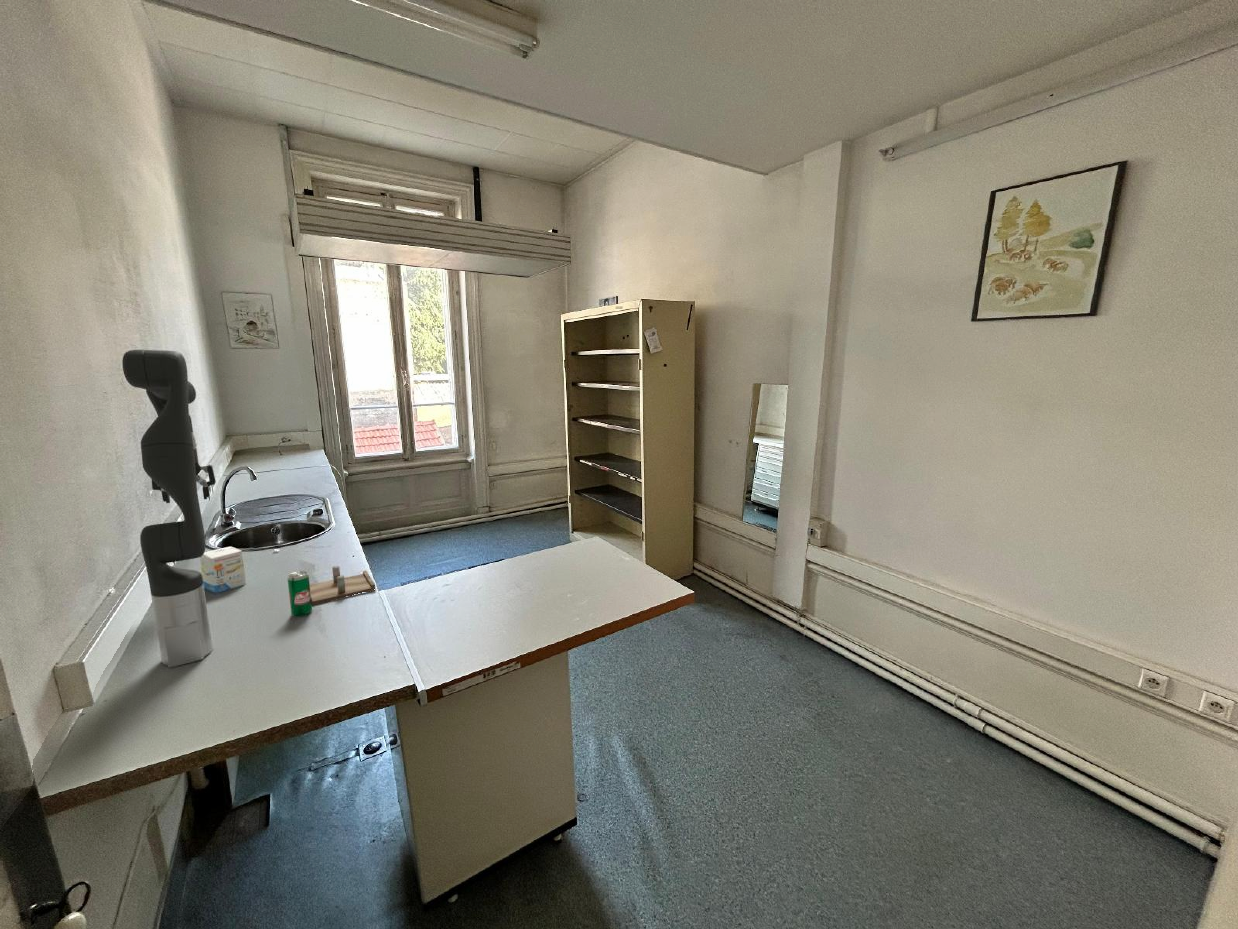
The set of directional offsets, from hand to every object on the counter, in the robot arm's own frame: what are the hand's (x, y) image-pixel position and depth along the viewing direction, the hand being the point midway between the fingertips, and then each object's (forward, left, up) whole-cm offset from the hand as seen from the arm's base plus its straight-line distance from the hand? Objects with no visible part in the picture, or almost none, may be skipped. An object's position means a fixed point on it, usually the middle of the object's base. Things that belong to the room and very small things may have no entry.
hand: (187, 500), depth 147 cm
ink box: (0, -6, -30) cm, 30 cm away
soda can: (-36, -24, -29) cm, 52 cm away
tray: (-25, -35, -29) cm, 52 cm away
